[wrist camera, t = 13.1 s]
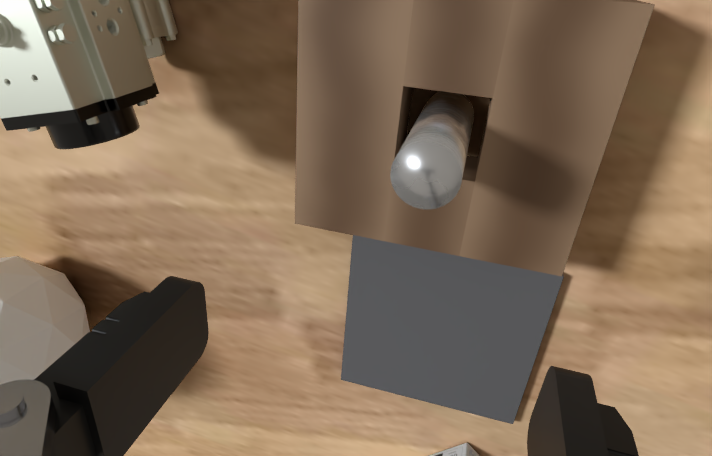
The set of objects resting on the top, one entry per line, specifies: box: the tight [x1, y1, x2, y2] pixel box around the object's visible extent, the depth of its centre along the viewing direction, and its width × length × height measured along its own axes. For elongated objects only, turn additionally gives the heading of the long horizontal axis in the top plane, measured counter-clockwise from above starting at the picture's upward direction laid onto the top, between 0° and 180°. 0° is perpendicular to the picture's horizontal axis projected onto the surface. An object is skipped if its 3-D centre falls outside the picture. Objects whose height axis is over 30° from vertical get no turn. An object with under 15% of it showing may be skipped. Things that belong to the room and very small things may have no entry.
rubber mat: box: [341, 235, 564, 424], centre depth 36 cm, size 14×14×1 cm
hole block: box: [295, 0, 654, 276], centre depth 27 cm, size 16×14×4 cm
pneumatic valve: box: [0, 0, 178, 149], centre depth 25 cm, size 6×12×12 cm, turn 9°
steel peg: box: [390, 91, 474, 209], centre depth 25 cm, size 3×3×10 cm
